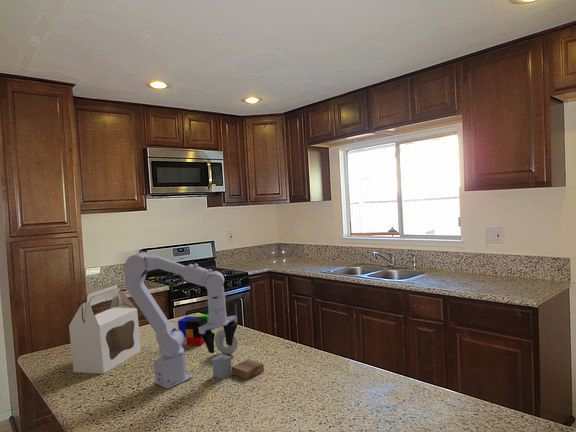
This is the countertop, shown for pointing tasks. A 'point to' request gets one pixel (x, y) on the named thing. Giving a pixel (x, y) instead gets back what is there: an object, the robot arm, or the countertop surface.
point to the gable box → (104, 332)
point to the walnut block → (247, 369)
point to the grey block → (221, 366)
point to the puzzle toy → (193, 328)
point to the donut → (222, 346)
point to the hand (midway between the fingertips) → (220, 348)
